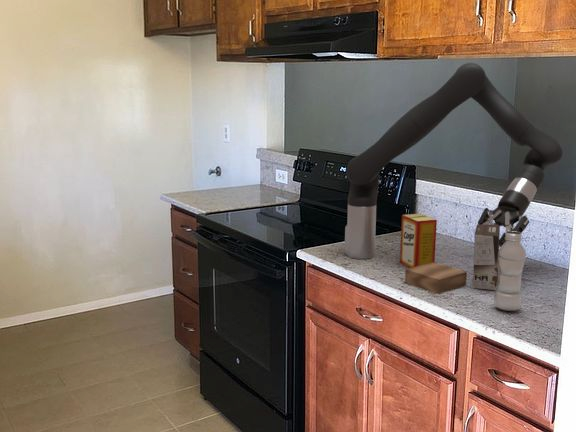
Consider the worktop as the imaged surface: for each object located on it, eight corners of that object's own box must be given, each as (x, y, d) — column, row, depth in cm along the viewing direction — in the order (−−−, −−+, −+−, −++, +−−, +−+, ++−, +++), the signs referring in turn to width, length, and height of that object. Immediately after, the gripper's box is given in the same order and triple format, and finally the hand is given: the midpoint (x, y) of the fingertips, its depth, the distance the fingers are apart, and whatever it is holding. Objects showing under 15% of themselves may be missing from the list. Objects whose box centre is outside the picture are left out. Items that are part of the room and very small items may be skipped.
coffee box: (496, 290, 170) (498, 236, 165) (472, 288, 172) (473, 234, 167) (498, 276, 178) (500, 224, 173) (475, 275, 180) (476, 223, 175)
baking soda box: (434, 269, 190) (436, 218, 186) (415, 271, 188) (417, 220, 184) (417, 261, 198) (420, 212, 195) (399, 262, 196) (401, 213, 193)
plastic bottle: (498, 302, 161) (504, 228, 157) (524, 309, 157) (531, 232, 153) (489, 309, 156) (495, 233, 152) (515, 316, 152) (522, 237, 148)
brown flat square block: (405, 282, 177) (405, 269, 176) (432, 274, 184) (433, 262, 183) (438, 293, 168) (438, 279, 167) (465, 285, 175) (466, 271, 174)
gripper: (491, 185, 182) (463, 229, 177) (536, 192, 171) (506, 240, 166) (501, 201, 186) (473, 244, 182) (545, 209, 175) (516, 256, 170)
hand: (489, 242), depth 174 cm, fingers closed on coffee box, 6 cm apart
